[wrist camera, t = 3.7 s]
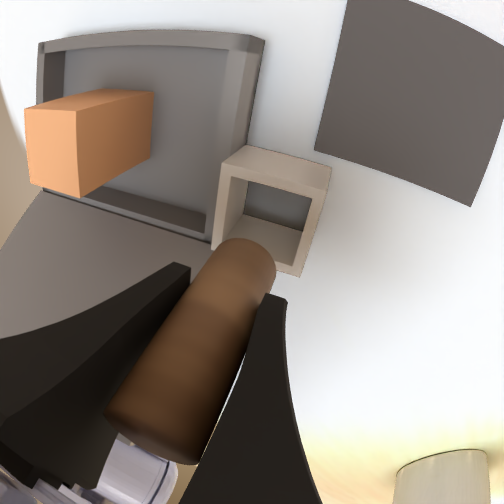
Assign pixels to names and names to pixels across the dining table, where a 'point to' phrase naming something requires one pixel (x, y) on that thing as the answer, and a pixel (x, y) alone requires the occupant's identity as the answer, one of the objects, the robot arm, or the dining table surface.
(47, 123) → the block
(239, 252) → the rod
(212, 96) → the case
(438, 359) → the dining table surface
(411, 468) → the utensil holder
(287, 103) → the dining table surface
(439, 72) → the pad
